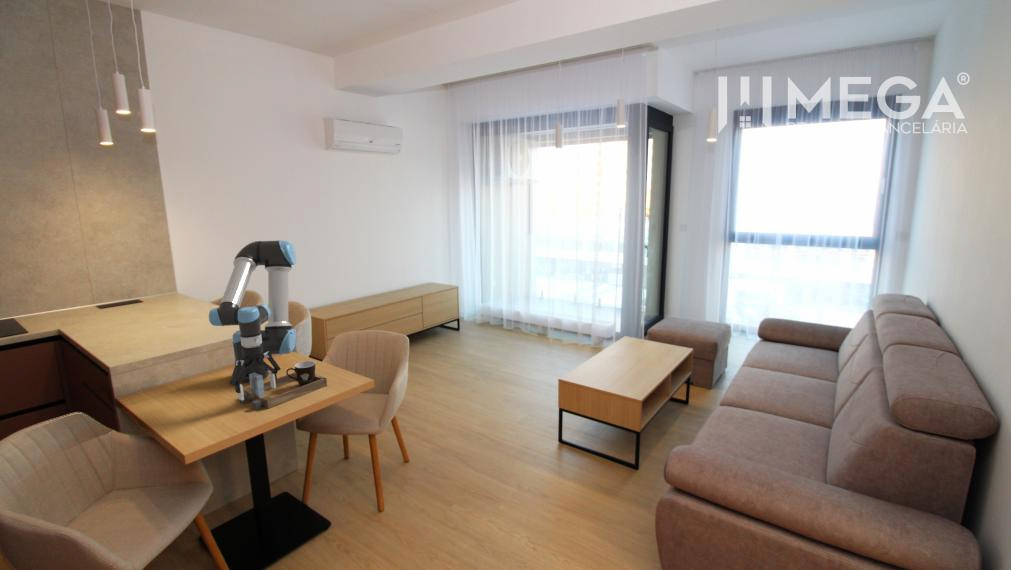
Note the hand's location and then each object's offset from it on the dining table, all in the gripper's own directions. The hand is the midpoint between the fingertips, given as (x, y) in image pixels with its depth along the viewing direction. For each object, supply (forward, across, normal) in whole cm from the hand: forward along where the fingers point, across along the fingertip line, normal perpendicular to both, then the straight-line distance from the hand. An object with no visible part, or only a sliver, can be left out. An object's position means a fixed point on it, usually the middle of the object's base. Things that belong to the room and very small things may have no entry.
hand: (257, 393), depth 198 cm
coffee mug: (+4, +21, 0) cm, 21 cm away
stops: (+4, -4, 0) cm, 5 cm away
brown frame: (+4, +12, 0) cm, 13 cm away
